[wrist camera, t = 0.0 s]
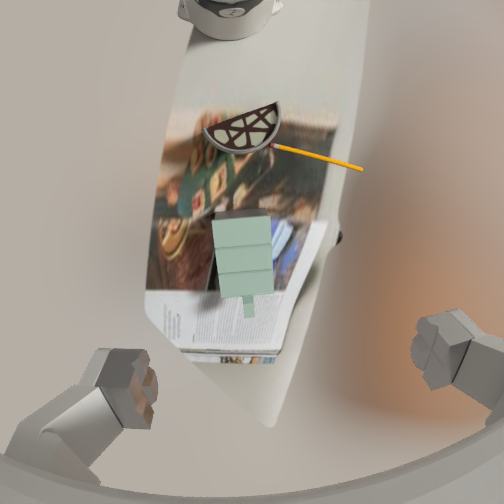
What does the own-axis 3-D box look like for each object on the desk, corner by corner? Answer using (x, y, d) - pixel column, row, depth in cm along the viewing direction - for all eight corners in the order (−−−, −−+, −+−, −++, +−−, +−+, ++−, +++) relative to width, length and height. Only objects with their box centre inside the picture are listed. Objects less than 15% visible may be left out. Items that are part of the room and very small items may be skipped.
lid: (211, 220, 50) (210, 226, 46) (269, 214, 50) (272, 221, 47) (223, 309, 56) (222, 319, 53) (273, 304, 57) (276, 315, 53)
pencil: (270, 142, 51) (270, 142, 51) (361, 167, 54) (363, 168, 53) (269, 146, 52) (269, 147, 51) (360, 171, 54) (362, 172, 54)
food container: (218, 161, 52) (215, 168, 43) (206, 130, 50) (199, 129, 40) (283, 137, 51) (295, 138, 42) (271, 105, 49) (280, 99, 39)
